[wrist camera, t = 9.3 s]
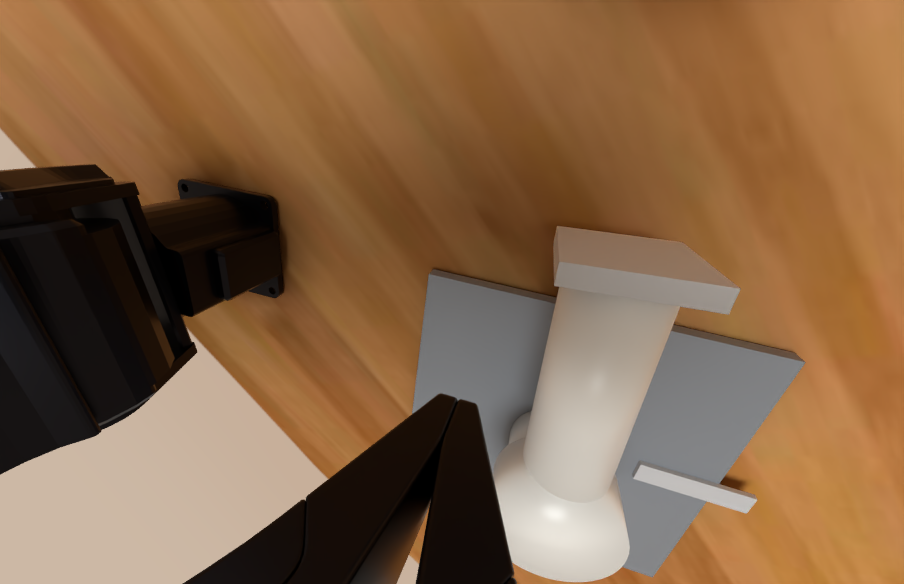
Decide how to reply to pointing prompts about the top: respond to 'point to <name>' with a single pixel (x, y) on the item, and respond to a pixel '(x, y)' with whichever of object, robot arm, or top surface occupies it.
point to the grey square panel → (658, 422)
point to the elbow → (594, 396)
